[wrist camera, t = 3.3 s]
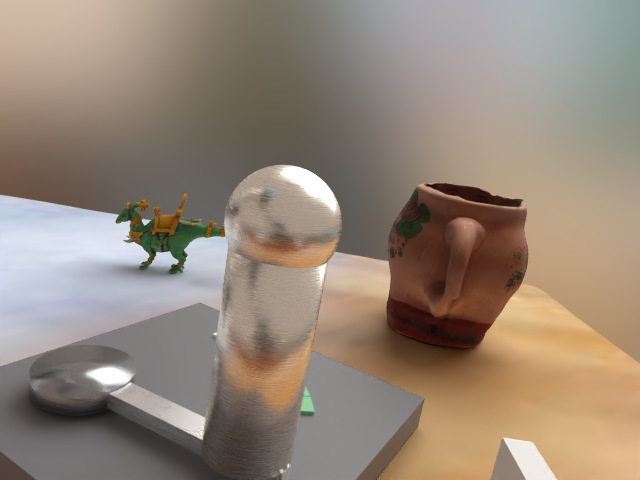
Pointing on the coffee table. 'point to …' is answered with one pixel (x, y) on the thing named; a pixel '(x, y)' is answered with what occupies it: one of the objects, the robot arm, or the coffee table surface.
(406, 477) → the coffee table surface
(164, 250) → the figurine
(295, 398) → the shiny silver rounded post
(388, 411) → the dial board
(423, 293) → the decorative planter
